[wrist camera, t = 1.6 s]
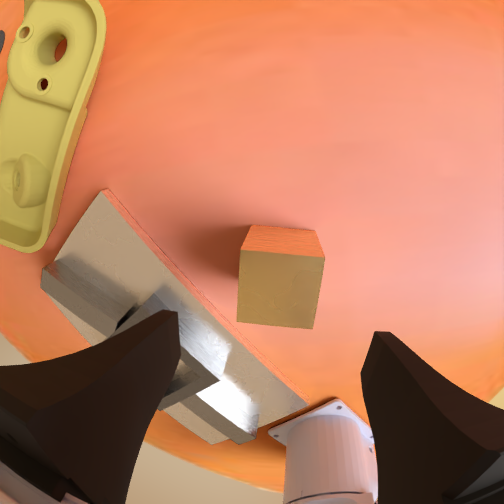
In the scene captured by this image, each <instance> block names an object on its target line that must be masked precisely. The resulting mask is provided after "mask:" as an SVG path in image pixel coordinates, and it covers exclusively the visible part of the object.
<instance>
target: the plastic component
mask: <svg viewBox="0 0 504 504" xmlns="http://www.w3.org/2000/svg"><path fill="white" fill-rule="evenodd" d="M65 38H66V39H67V48H66V51H65V54H64V55H63V57H62V58H61V59H60V60H59V61H58V62H57V61H56V60H55V49H56V47H57V46H58V44H59V43H60V42H61V41H62V40H64V39H65ZM105 40H106V17H105V13H104V10H103V8H102V6H101V4H100V2H99V1H98V0H24V20H23V22H22V24H21V26H20V27H19V29H18V30H17V32H16V37H15V40H14V42H13V44H12V47H11V49H10V52H9V56H8V62H7V73H8V81H7V84H6V87H5V90H4V93H3V97H2V100H1V104H0V244H2V245H4V246H7V247H9V248H12V249H14V250H17V251H20V252H23V253H33V252H35V251H38V250H39V249H40V248H42V247H43V245H44V244H45V242H46V240H47V239H48V237H49V235H50V233H51V232H52V230H53V228H54V226H55V225H56V222H57V219H58V214H59V209H60V204H61V200H62V195H63V191H64V187H65V183H66V179H67V175H68V172H69V168H70V165H71V161H72V158H73V154H74V151H75V148H76V145H77V142H78V139H79V136H80V133H81V130H82V127H83V124H84V122H85V119H86V116H87V108H86V105H87V103H88V100H89V98H90V95H91V93H92V90H93V87H94V84H95V81H96V78H97V75H98V71H99V68H100V63H101V59H102V55H103V50H104V46H105ZM45 78H46V79H47V80H48V86H47V88H46V89H45V90H42V88H41V82H42V80H43V79H45Z"/></svg>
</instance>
